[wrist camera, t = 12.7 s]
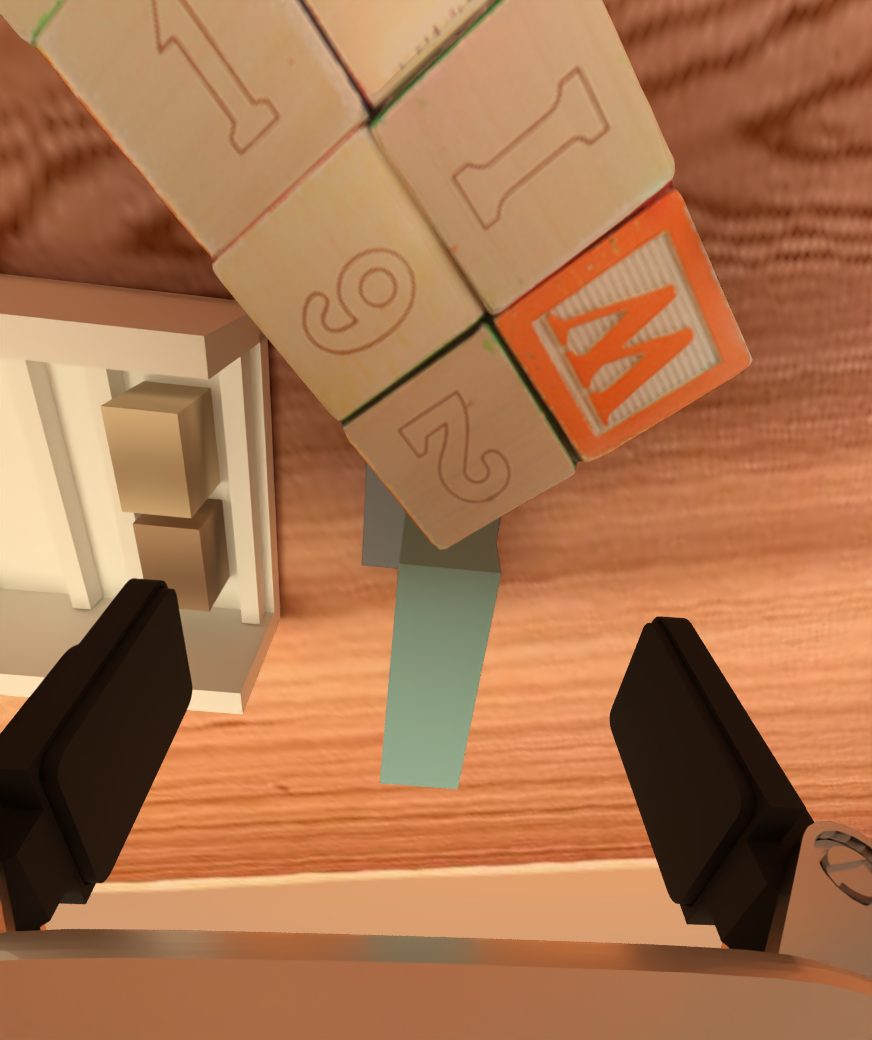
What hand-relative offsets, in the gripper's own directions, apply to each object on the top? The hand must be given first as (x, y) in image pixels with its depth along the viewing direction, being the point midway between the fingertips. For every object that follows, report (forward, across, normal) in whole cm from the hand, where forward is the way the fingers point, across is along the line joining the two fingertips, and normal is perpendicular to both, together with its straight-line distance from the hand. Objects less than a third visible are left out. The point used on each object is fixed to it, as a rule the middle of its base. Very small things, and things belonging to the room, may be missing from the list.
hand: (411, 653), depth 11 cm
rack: (+13, +13, +4) cm, 19 cm away
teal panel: (+8, -1, 0) cm, 8 cm away
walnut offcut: (+12, +9, +6) cm, 16 cm away
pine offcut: (+12, +9, +1) cm, 15 cm away
